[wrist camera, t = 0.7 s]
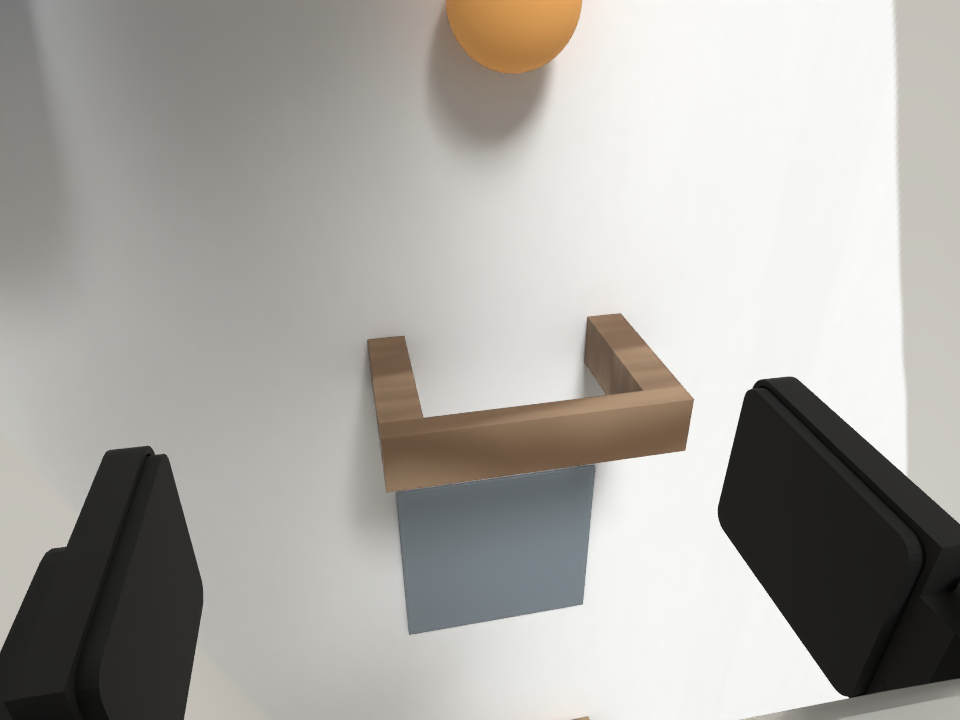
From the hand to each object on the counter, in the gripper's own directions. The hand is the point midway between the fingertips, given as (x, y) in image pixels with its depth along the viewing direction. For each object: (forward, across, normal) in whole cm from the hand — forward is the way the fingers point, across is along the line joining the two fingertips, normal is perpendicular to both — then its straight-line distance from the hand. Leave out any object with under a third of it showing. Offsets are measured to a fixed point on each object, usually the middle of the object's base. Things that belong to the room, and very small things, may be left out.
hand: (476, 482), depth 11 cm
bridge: (+26, -6, +12) cm, 29 cm away
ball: (+23, -6, -6) cm, 24 cm away
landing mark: (+25, -7, +28) cm, 39 cm away
